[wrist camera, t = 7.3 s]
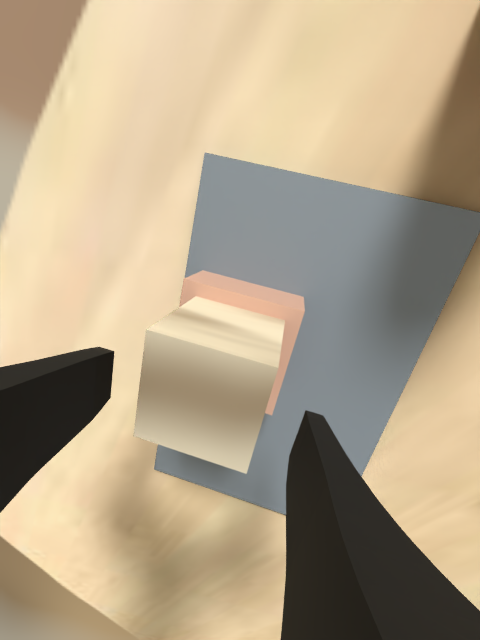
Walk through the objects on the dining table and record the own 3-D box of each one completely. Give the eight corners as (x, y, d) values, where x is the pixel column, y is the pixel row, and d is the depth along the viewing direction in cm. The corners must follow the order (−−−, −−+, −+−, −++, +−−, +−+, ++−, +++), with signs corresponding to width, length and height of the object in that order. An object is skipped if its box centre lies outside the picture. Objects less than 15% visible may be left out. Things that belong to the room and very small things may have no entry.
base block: (276, 386, 18) (272, 415, 16) (186, 359, 19) (167, 382, 16) (303, 296, 16) (304, 311, 14) (202, 270, 17) (183, 278, 14)
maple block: (262, 398, 15) (246, 473, 11) (182, 374, 16) (133, 436, 11) (285, 320, 14) (278, 368, 9) (195, 296, 14) (146, 329, 10)
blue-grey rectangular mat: (333, 525, 21) (334, 531, 21) (157, 464, 23) (154, 469, 22) (482, 214, 14) (488, 214, 14) (207, 154, 16) (204, 152, 15)
